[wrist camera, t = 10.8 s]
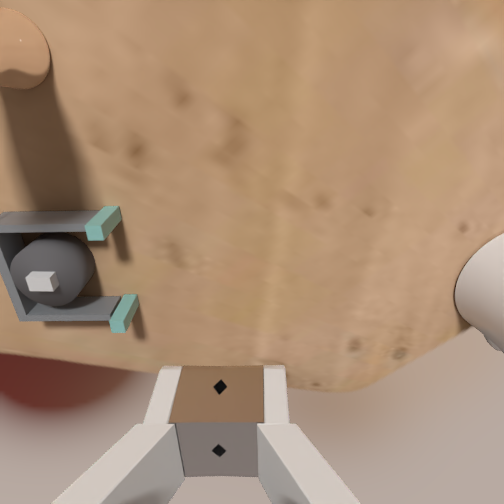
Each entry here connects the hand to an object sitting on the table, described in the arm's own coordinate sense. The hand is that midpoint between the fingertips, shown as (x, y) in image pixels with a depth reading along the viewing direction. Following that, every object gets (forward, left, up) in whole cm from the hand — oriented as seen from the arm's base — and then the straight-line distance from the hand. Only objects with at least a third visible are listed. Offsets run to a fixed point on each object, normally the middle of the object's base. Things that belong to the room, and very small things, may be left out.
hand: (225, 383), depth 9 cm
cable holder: (+20, +12, -29) cm, 38 cm away
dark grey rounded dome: (+21, +12, -29) cm, 38 cm away
